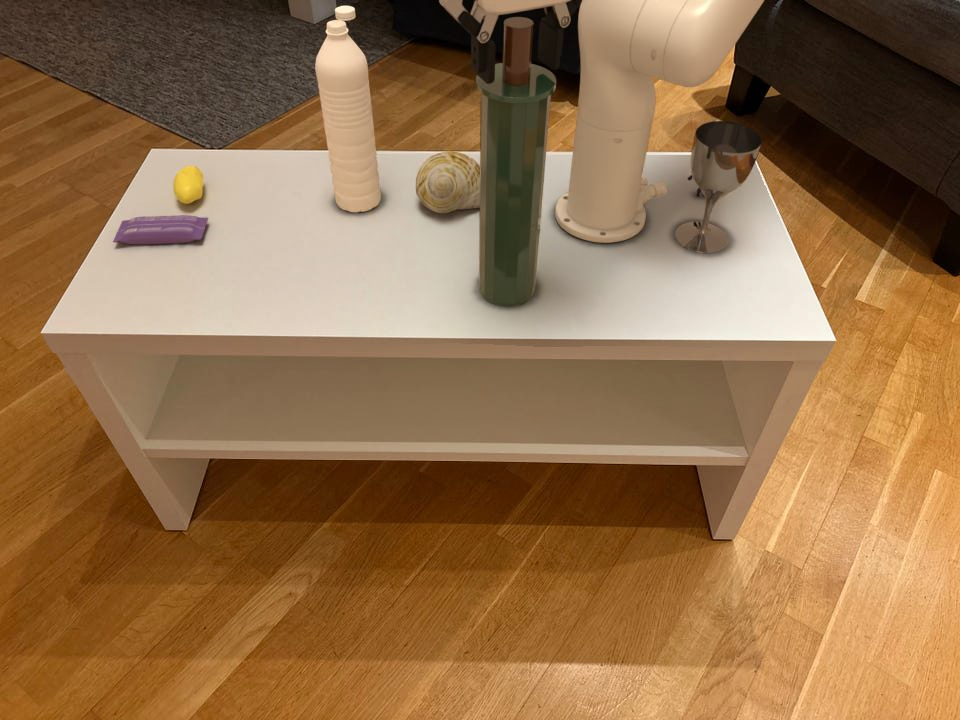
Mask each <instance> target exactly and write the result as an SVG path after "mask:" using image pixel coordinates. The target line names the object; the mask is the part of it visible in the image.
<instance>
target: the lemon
mask: <svg viewBox="0 0 960 720" xmlns="http://www.w3.org/2000/svg"><path fill="white" fill-rule="evenodd" d="M172 184H173V185H172V186H173V187H172V188H173V189H172V190H173V194H174V196H175V197H176V199H177V200H178V201H179V203H182V204H185V205H188V204H192V203H193V202H195V201H197V200H200V199H201V198H202V197H203V188H204V186H205V182H204V174H203V172H202V170H201V169H200V168H199V167H197V166H194V165H187V166H184V167H182V168H181V169H180V170H179V171H178V172H177V173H176V175H175V176H174V178H173V183H172Z"/></svg>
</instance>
